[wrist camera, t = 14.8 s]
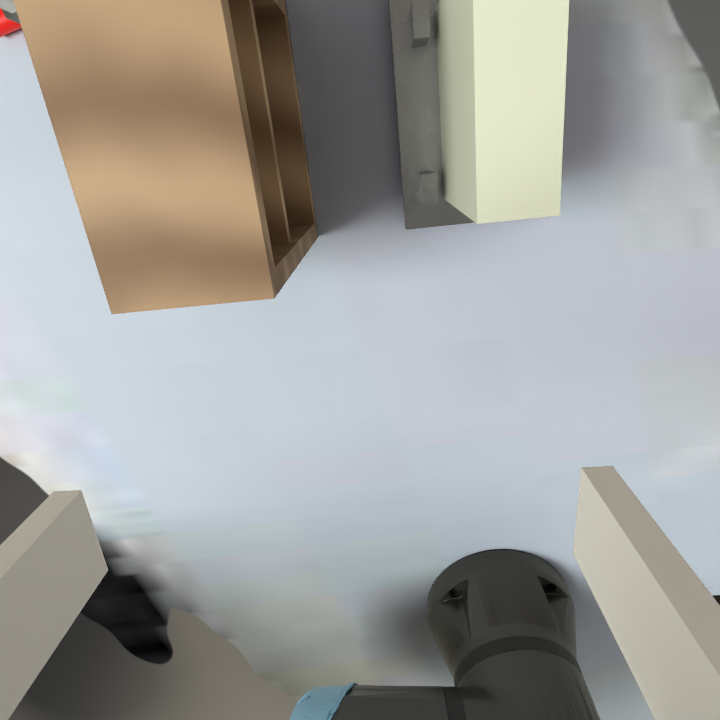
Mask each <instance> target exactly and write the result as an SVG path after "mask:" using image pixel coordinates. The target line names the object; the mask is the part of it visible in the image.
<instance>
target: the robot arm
mask: <svg viewBox="0 0 720 720" xmlns="http://www.w3.org/2000/svg"><path fill="white" fill-rule="evenodd" d="M573 555H574V557H575V559H576V561H577V563H578V565H579V567H580V569H581V571H582V573H583V575H584V577H585V579H586V581H587V583H588V585H589V587H590V589H591V591H592V593H593V595H594V597H595V599H596V601H597V603H598V605H599V607H600V609H601V611H602V613H603V615H604V617H605V619H606V621H607V623H608V625H609V627H610V629H611V631H612V633H613V635H614V637H615V640H616V642H617V644H618V646H619V648H620V650H621V652H622V654H623V656H624V658H625V660H626V662H627V664H628V666H629V668H630V670H631V672H632V674H633V676H634V678H635V680H636V682H637V684H638V686H639V688H640V690H641V692H642V694H643V696H644V698H645V700H646V702H647V704H648V706H649V708H650V710H651V712H652V714H653V716H654V718H655V720H720V595H717V596H712V595H711V594H710V592H709V591H708V590H707V588H706V587H705V586H704V584H703V583H702V582H701V581H700V579H699V578H698V577H697V575H696V574H695V573H694V571H693V570H692V569H691V568H690V566H689V565H688V564H687V562H686V561H685V560H684V558H683V557H682V556H681V555H680V553H679V552H678V551H677V549H676V548H675V547H674V545H673V544H672V543H671V542H670V540H669V539H668V538H667V536H666V535H665V534H664V532H663V531H662V530H661V528H660V527H659V526H658V525H657V523H656V522H655V521H654V519H653V518H652V517H651V515H650V514H649V513H648V512H647V510H646V509H645V508H644V506H643V505H642V504H641V502H640V501H639V500H638V499H637V497H636V496H635V495H634V493H633V492H632V491H631V489H630V488H629V487H628V486H627V484H626V483H625V482H624V480H623V479H622V478H621V476H620V475H619V474H618V473H617V471H616V470H615V469H614V467H613V466H604V467H582V468H581V476H580V486H579V497H578V507H577V517H576V528H575V538H574V549H573ZM107 571H108V568H107V565H106V562H105V559H104V556H103V553H102V550H101V547H100V544H99V541H98V539H97V536H96V533H95V530H94V527H93V524H92V521H91V518H90V515H89V512H88V509H87V506H86V503H85V500H84V497H83V494H82V491H81V490H78V491H56V492H53V493H52V494H51V495H50V496H49V497H48V498H47V499H46V500H45V501H44V502H43V503H42V504H41V505H40V506H39V507H38V508H37V509H36V510H35V511H34V512H33V513H32V514H31V515H30V516H29V517H28V518H27V519H26V520H25V521H24V522H23V523H22V524H21V525H20V526H19V527H18V528H17V529H16V530H15V531H14V532H13V533H12V534H11V535H10V536H9V537H8V538H7V539H6V540H5V541H4V542H3V543H2V544H1V545H0V720H8V719H9V717H10V716H11V714H12V713H13V711H14V710H15V708H16V707H17V705H18V704H19V702H20V701H21V699H22V698H23V696H24V695H25V693H26V692H27V690H28V689H29V687H30V686H31V684H32V683H33V681H34V680H35V678H36V677H37V675H38V674H39V672H40V671H41V669H42V668H43V666H44V665H45V663H46V662H47V660H48V659H49V658H50V656H51V655H52V653H53V652H54V650H55V649H56V647H57V645H58V644H59V643H60V641H61V639H62V638H63V636H64V635H65V633H66V632H67V631H68V629H69V628H70V626H71V624H72V623H73V622H74V620H75V619H76V617H77V616H78V614H79V613H80V611H81V610H82V608H83V607H84V605H85V604H86V602H87V601H88V599H89V598H90V596H91V595H92V593H93V592H94V590H95V589H96V587H97V586H98V584H99V583H100V581H101V580H102V578H103V577H104V575H105V574H106V572H107ZM428 614H429V623H430V628H431V631H432V634H433V637H434V639H435V641H436V643H437V645H438V647H439V649H440V651H441V653H442V655H443V657H444V660H445V662H446V664H447V666H448V668H449V670H450V672H451V674H452V676H453V678H454V683H455V687H441V686H370V685H358V684H357V683H349V684H348V685H342V686H327V687H315V688H312V689H311V690H309V691H307V692H306V693H305V694H304V695H303V696H302V697H301V698H300V699H299V701H298V703H297V704H296V706H295V709H294V710H293V712H292V714H291V717H290V720H600V718H599V715H598V713H597V710H596V708H595V705H594V703H593V700H592V698H591V695H590V692H589V690H588V687H587V685H586V682H585V680H584V678H583V675H582V673H581V670H580V667H579V665H578V662H577V659H576V634H575V612H574V606H573V602H572V599H571V596H570V594H569V591H568V589H567V587H566V584H565V582H564V580H563V578H562V577H561V575H560V574H559V573H558V571H557V570H556V569H555V568H554V567H552V566H551V565H550V564H548V563H547V562H545V561H544V560H542V559H540V558H538V557H536V556H533V555H530V554H527V553H523V552H519V551H511V550H494V551H486V552H481V553H477V554H474V555H470V556H468V557H465V558H463V559H461V560H459V561H457V562H455V563H454V564H452V565H451V566H449V567H448V568H447V569H446V570H444V571H443V572H442V573H441V574H440V575H439V577H438V578H437V579H436V580H435V582H434V584H433V585H432V587H431V590H430V592H429V596H428Z"/></svg>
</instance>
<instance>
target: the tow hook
mask: <svg viewBox="0 0 720 720" xmlns="http://www.w3.org/2000/svg"><path fill="white" fill-rule="evenodd" d="M20 28H22V27H21V24H20V20H19V17H18V14H17V11H16V8H15V5H14V1H13V0H0V37H2V36H4V35H7V34H9V33H11V32H14V31H16V30H18V29H20Z"/></svg>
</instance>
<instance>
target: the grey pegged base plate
mask: <svg viewBox="0 0 720 720" xmlns="http://www.w3.org/2000/svg"><path fill="white" fill-rule="evenodd" d="M438 3H439V0H389V9H390V23H391V37H392V51H393V65H394V78H395V92H396V106H397V120H398V134H399V148H400V162H401V175H402V189H403V203H404V217H405V228H406V229H415V228H425V227H434V226H444V225H453V224H462V223H472V222H474V221H472V220H471V219H470V218H468V217H467V216H466V215H464V214H463V213H462V212H460V211H459V210H458V209H457V208H455V207H454V206H453V205H451V204H450V203H449V202H447V201H446V200H445V199H444V195H443V171H442V148H441V124H440V100H439V77H438V53H437V29H436V8H437V5H438Z"/></svg>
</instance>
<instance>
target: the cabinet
mask: <svg viewBox="0 0 720 720" xmlns="http://www.w3.org/2000/svg"><path fill="white" fill-rule="evenodd" d="M13 1H14V5H15V8H16V11H17V14H18V17H19V20H20V24H21V27H22V30H23V33H24V36H25V40H26V43H27V46H28V49H29V52H30V56H31V59H32V62H33V65H34V68H35V71H36V75H37V78H38V81H39V84H40V87H41V91H42V94H43V97H44V100H45V103H46V107H47V110H48V113H49V116H50V119H51V122H52V126H53V129H54V132H55V135H56V138H57V142H58V145H59V148H60V151H61V154H62V157H63V161H64V164H65V167H66V170H67V173H68V177H69V180H70V183H71V186H72V189H73V193H74V196H75V199H76V202H77V205H78V208H79V212H80V215H81V218H82V221H83V224H84V228H85V231H86V234H87V237H88V240H89V243H90V247H91V250H92V253H93V256H94V259H95V263H96V266H97V269H98V272H99V275H100V279H101V282H102V285H103V288H104V291H105V294H106V298H107V301H108V304H109V307H110V310H111V314H118V313H128V312H138V311H149V310H159V309H169V308H180V307H190V306H200V305H210V304H221V303H231V302H241V301H252V300H262V299H272V298H275V297H276V295H277V294H278V293H279V291H280V290H281V288H282V287H283V285H284V284H285V283H286V281H287V280H288V278H289V277H290V276H291V274H292V273H293V271H294V270H295V269H296V267H297V266H298V264H299V263H300V262H301V260H302V259H303V257H304V256H305V255H306V253H307V252H308V250H309V249H310V247H311V246H312V245H313V243H314V242H315V240H316V239H317V238H318V233H317V226H316V218H315V211H314V204H313V197H312V190H311V183H310V175H309V168H308V161H307V154H306V147H305V139H304V132H303V125H302V118H301V111H300V103H299V96H298V89H297V82H296V75H295V67H294V60H293V53H292V46H291V39H290V31H289V24H288V17H287V10H286V3H285V0H13Z"/></svg>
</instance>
